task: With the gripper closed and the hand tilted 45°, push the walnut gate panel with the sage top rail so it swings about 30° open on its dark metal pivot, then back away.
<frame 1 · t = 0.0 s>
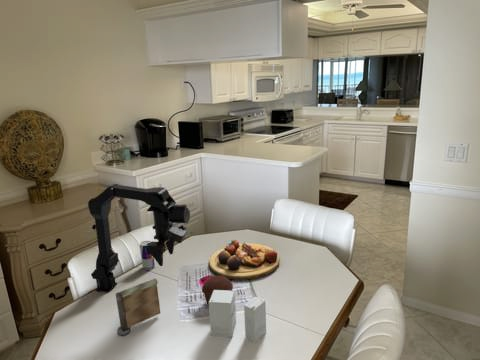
hand: (166, 259, 137), 15 cm above the table, tool pointing down, fingers open, 9 cm apart
muffin: (218, 303, 134), on the table
wooden plate with food: (244, 263, 163), on the table
skincare box: (256, 335, 116), on the table
energy drink: (148, 267, 162), on the table
gate panel: (139, 304, 122), point 8 cm above the table, hinge at 0.0°
supplement box: (224, 329, 119), on the table
gate pivot base: (124, 331, 121), on the table
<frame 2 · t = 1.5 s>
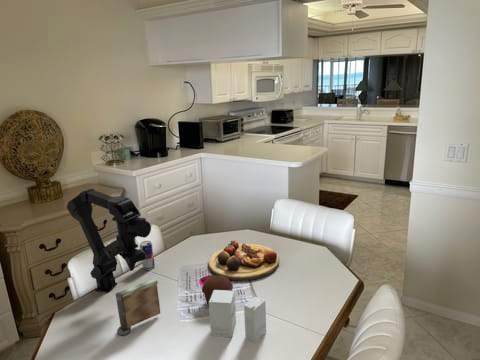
hand: (131, 270, 136), 12 cm above the table, tool pointing down, fingers closed
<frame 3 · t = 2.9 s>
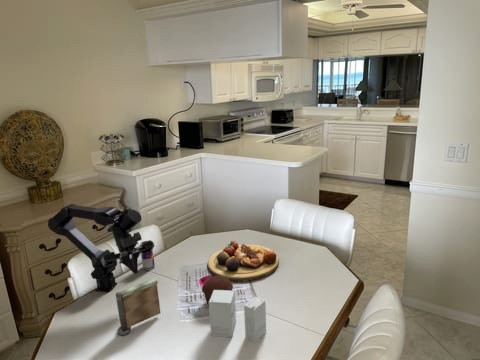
hand: (136, 273, 131), 13 cm above the table, tool tilted 45°, fingers closed
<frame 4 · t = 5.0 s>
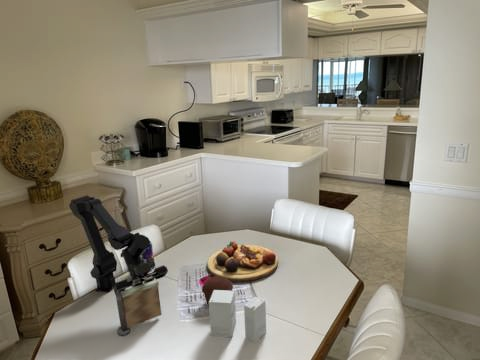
hand: (150, 302, 125), 7 cm above the table, tool tilted 45°, fingers closed, pressing on gate panel
gate panel: (139, 304, 122), point 8 cm above the table, hinge at -4.5°, touching gripper
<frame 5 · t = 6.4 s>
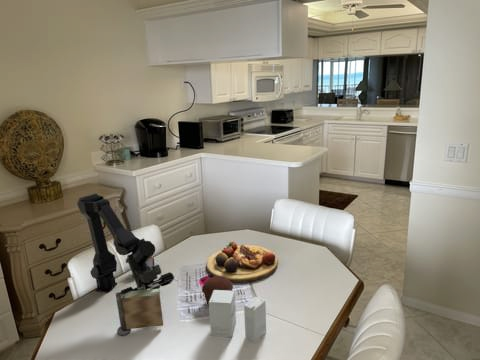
hand: (156, 310, 121), 6 cm above the table, tool tilted 45°, fingers closed
gate panel: (140, 309, 119), point 8 cm above the table, hinge at -32.0°, touching gripper
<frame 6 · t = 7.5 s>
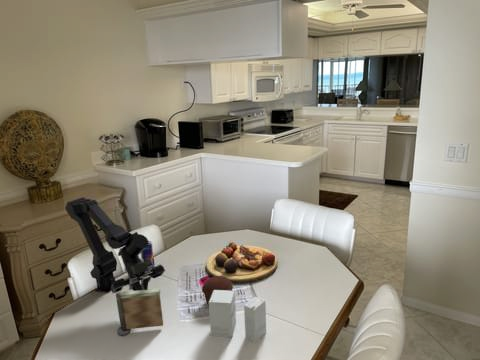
hand: (146, 300, 127), 6 cm above the table, tool tilted 45°, fingers closed
gate panel: (140, 309, 119), point 8 cm above the table, hinge at -32.0°
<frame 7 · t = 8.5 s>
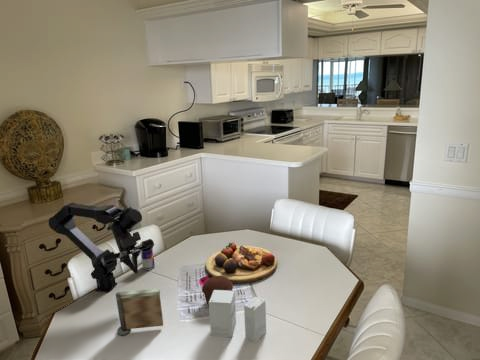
hand: (136, 273, 131), 13 cm above the table, tool tilted 40°, fingers closed
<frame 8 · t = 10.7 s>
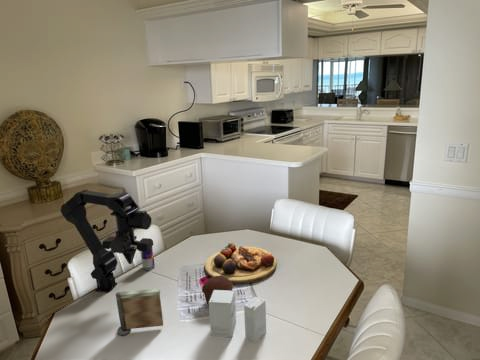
hand: (130, 263, 139), 13 cm above the table, tool pointing down, fingers closed
at the end: gate panel at -32° (first picture: +0°) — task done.
